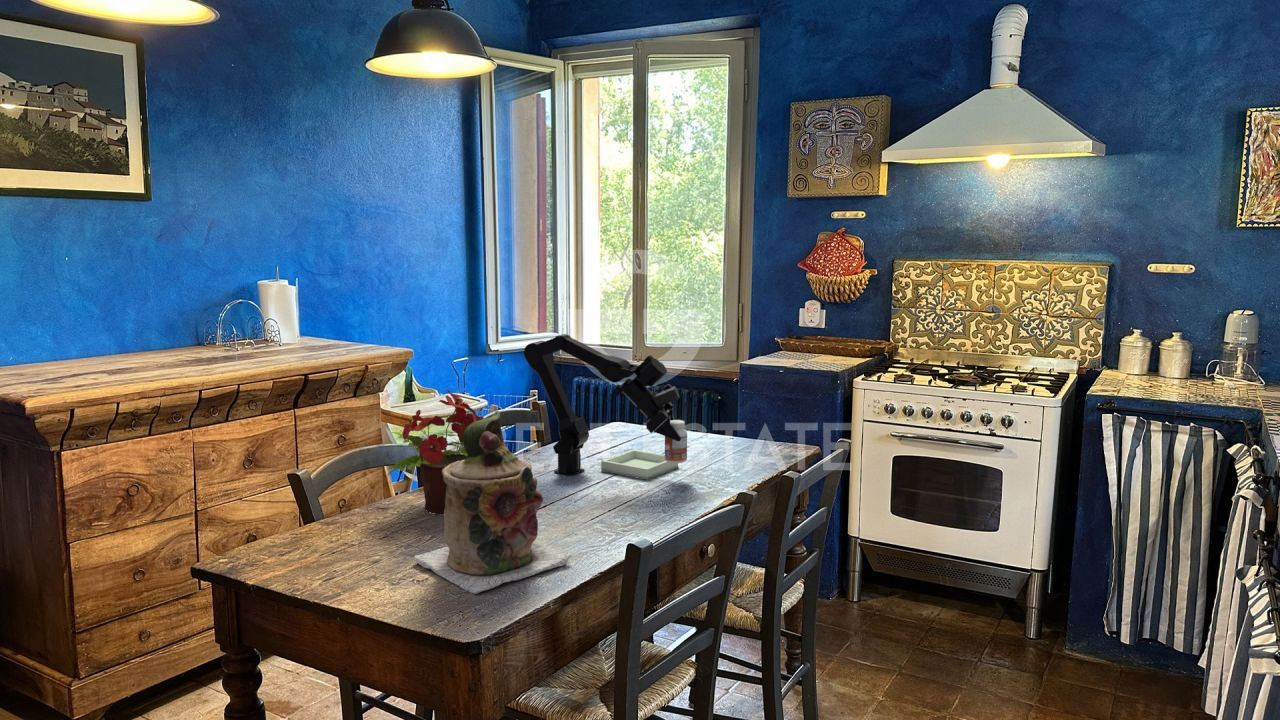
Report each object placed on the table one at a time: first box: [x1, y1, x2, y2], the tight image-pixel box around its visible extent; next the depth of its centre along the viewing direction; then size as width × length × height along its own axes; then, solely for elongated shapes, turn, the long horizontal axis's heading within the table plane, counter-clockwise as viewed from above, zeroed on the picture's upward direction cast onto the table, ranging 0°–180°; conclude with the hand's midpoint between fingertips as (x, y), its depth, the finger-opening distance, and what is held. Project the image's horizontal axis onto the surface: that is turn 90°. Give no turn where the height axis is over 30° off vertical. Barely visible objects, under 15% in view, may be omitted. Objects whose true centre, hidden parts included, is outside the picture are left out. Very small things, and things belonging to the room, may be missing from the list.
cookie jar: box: [414, 410, 572, 595], centre depth 184 cm, size 25×25×32 cm
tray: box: [600, 449, 679, 481], centre depth 258 cm, size 16×16×3 cm
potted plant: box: [386, 388, 485, 515], centre depth 224 cm, size 30×27×30 cm
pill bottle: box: [664, 419, 688, 464], centre depth 245 cm, size 6×6×11 cm
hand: (681, 437), depth 244 cm, fingers closed on pill bottle, 6 cm apart
